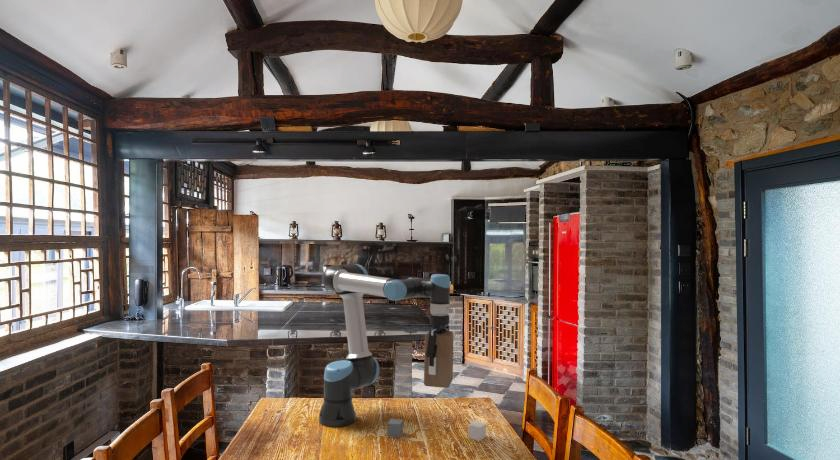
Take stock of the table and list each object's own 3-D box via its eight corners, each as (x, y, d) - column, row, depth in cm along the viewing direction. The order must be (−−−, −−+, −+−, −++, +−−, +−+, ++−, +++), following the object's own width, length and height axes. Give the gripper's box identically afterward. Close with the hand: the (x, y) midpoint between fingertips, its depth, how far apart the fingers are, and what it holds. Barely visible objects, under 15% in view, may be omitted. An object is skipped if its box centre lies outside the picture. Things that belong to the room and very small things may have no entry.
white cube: (468, 437, 186) (468, 424, 186) (474, 433, 190) (474, 420, 190) (479, 441, 183) (479, 427, 183) (485, 436, 187) (486, 423, 187)
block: (449, 388, 182) (450, 335, 182) (423, 386, 184) (424, 334, 184) (452, 381, 192) (453, 330, 192) (428, 379, 194) (429, 329, 194)
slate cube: (387, 436, 186) (387, 423, 186) (390, 431, 191) (390, 418, 191) (399, 437, 185) (399, 424, 185) (402, 432, 190) (402, 419, 190)
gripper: (436, 319, 176) (434, 379, 176) (459, 311, 197) (458, 365, 197) (417, 317, 180) (416, 376, 179) (443, 309, 201) (441, 362, 200)
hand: (438, 370), depth 188 cm, fingers closed on block, 11 cm apart
